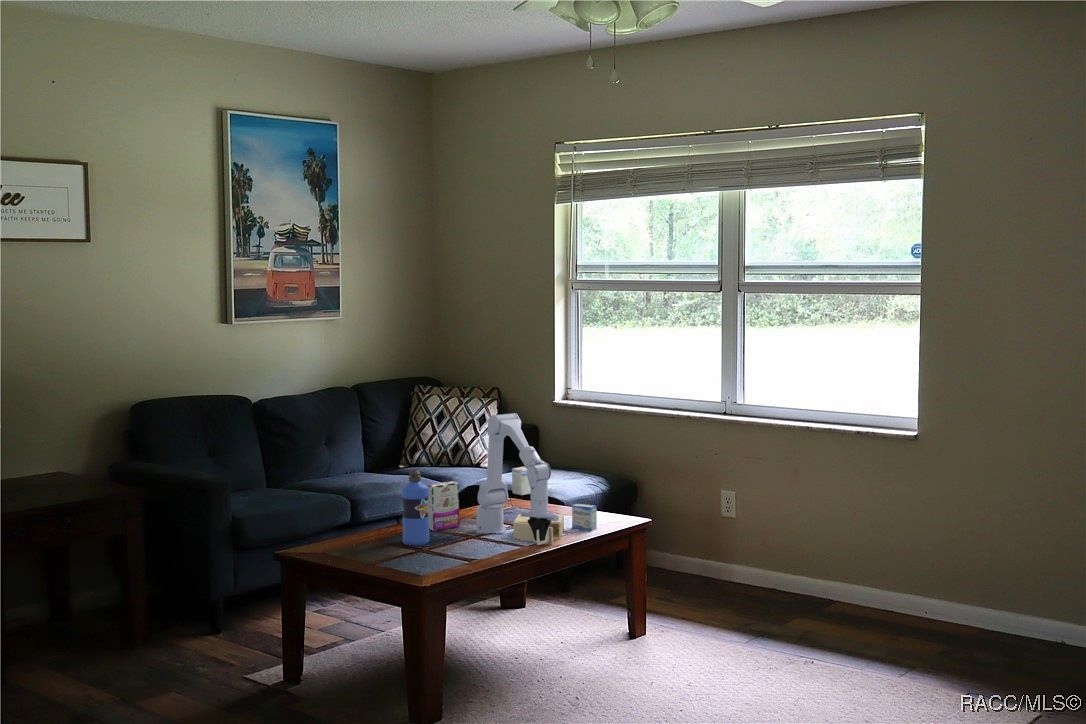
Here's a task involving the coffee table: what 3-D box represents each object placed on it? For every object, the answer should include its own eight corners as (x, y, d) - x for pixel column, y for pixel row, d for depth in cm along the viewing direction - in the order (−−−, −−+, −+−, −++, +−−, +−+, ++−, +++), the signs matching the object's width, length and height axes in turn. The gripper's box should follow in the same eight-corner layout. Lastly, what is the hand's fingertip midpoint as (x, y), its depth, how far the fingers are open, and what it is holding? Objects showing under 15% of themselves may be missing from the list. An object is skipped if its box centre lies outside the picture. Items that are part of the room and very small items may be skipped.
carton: (514, 538, 369) (514, 521, 368) (519, 530, 381) (518, 514, 380) (560, 539, 367) (560, 522, 366) (563, 531, 379) (563, 514, 378)
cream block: (503, 542, 363) (502, 525, 362) (514, 538, 368) (514, 521, 368) (541, 548, 354) (541, 531, 353) (552, 544, 359) (552, 527, 359)
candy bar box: (452, 524, 391) (452, 480, 390) (460, 527, 387) (459, 482, 386) (426, 529, 385) (425, 484, 383) (433, 531, 381) (432, 486, 379)
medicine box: (571, 529, 382) (571, 505, 381) (577, 526, 386) (576, 503, 385) (591, 531, 378) (591, 507, 377) (597, 528, 382) (596, 505, 381)
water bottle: (435, 540, 367) (434, 468, 365) (417, 546, 359) (416, 473, 357) (414, 537, 372) (413, 466, 370) (396, 543, 364) (395, 470, 363)
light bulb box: (531, 489, 457) (530, 464, 456) (541, 492, 451) (540, 466, 451) (511, 493, 450) (511, 467, 449) (521, 495, 445) (521, 469, 444)
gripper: (514, 499, 356) (515, 539, 357) (549, 504, 347) (550, 545, 348) (527, 495, 362) (528, 535, 363) (562, 500, 353) (562, 541, 354)
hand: (539, 540), depth 356 cm, fingers closed
